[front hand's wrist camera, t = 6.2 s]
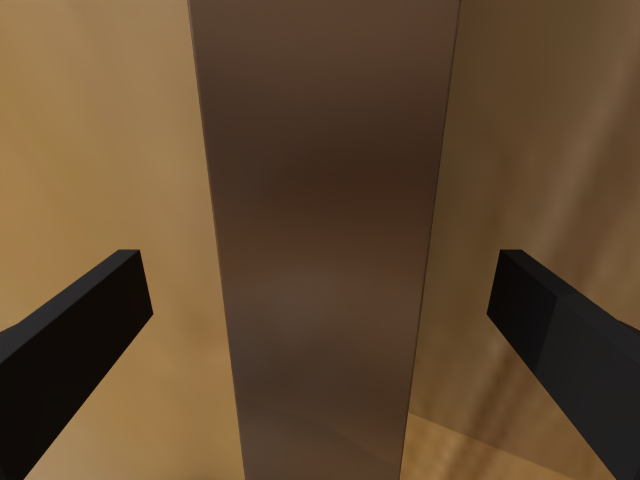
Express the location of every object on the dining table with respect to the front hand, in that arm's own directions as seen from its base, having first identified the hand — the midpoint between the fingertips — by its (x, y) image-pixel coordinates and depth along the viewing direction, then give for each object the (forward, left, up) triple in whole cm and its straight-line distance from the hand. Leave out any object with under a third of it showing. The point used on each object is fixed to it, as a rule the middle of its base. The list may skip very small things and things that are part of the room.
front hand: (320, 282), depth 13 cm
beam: (+19, -22, -3) cm, 29 cm away
